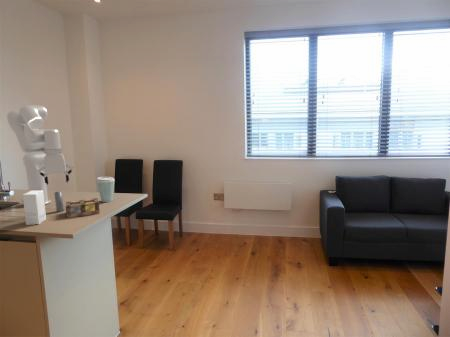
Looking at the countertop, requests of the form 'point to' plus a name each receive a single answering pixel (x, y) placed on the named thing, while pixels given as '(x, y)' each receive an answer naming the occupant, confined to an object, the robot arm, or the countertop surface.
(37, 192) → the skincare box
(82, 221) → the countertop surface
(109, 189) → the disposable coffee cup
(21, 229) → the countertop surface
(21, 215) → the countertop surface
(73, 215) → the socket block
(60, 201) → the peg
